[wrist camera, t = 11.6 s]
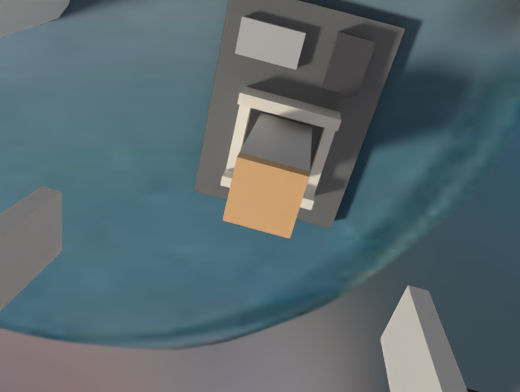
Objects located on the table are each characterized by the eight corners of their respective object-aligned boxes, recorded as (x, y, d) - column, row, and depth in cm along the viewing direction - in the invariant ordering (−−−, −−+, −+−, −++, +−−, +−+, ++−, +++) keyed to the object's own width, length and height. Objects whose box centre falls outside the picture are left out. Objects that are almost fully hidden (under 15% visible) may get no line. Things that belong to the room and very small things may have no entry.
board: (235, -17, 28) (223, -20, 24) (401, 27, 27) (413, 30, 24) (198, 185, 35) (185, 203, 31) (330, 221, 34) (331, 244, 31)
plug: (261, 112, 30) (236, 157, 21) (312, 126, 30) (309, 176, 21) (249, 160, 32) (222, 220, 23) (297, 173, 32) (289, 238, 23)
